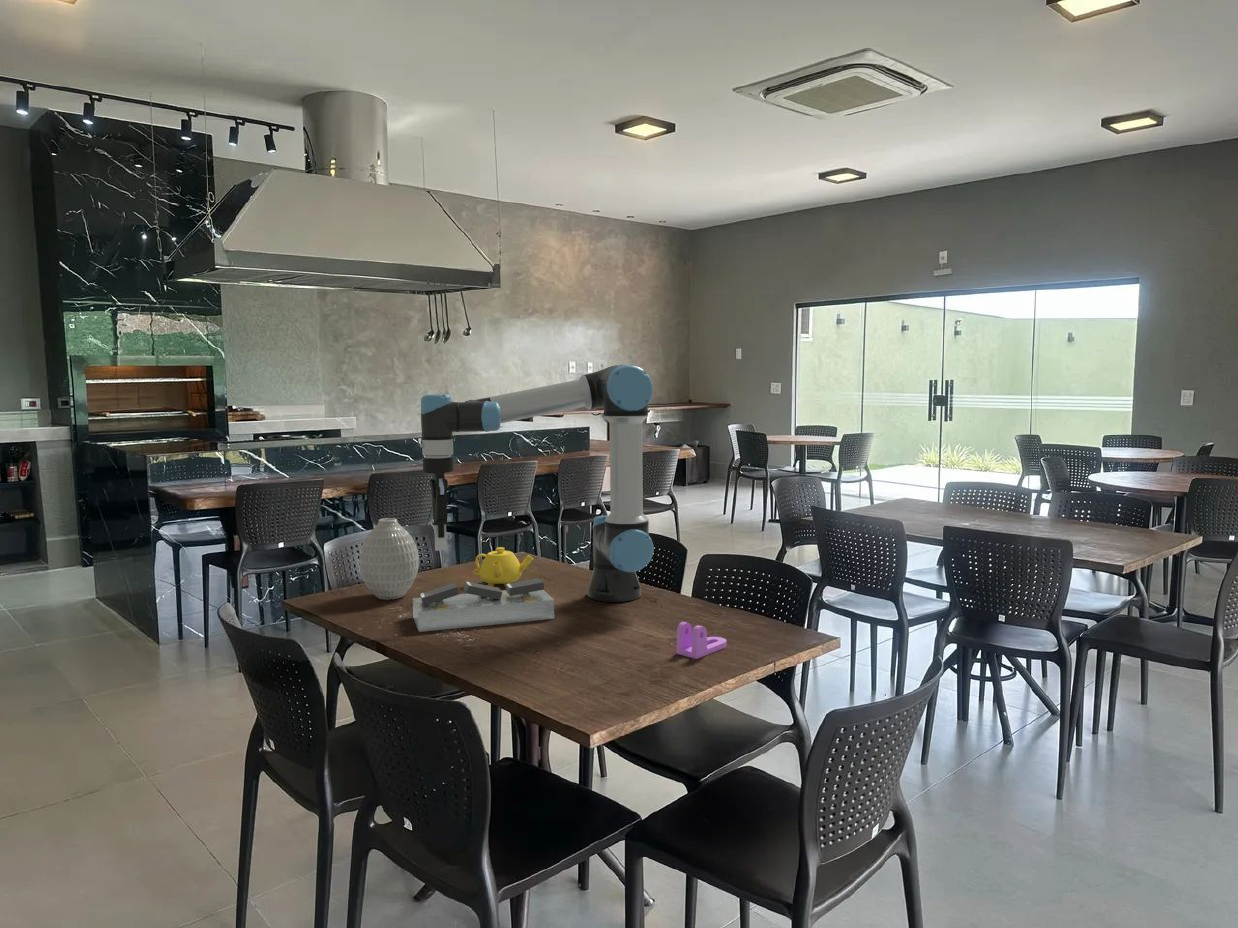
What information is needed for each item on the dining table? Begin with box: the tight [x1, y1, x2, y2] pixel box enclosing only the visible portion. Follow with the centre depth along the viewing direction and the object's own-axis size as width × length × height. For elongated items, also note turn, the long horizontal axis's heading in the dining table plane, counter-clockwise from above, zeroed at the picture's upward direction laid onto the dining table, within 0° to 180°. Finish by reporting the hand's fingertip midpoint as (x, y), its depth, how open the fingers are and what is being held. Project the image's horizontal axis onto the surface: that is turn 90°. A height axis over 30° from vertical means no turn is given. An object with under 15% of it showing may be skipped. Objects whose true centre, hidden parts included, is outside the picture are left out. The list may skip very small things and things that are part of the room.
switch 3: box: [505, 577, 545, 596], centre depth 223 cm, size 9×5×2 cm, turn 109°
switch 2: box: [462, 580, 503, 600], centre depth 220 cm, size 9×5×2 cm, turn 109°
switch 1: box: [419, 582, 460, 606], centre depth 216 cm, size 9×5×2 cm, turn 109°
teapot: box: [473, 546, 534, 588], centre depth 256 cm, size 14×14×11 cm
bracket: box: [676, 621, 728, 660], centre depth 193 cm, size 13×6×7 cm, turn 137°
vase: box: [359, 517, 420, 601], centre depth 242 cm, size 16×16×22 cm
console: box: [412, 589, 555, 633], centre depth 220 cm, size 34×14×6 cm, turn 109°
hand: (440, 549), depth 215 cm, fingers closed
